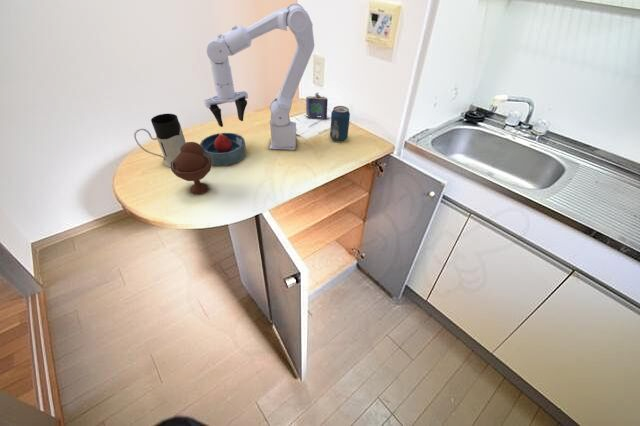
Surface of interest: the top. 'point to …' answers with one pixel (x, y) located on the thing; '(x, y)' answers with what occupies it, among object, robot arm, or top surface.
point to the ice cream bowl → (192, 166)
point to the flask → (316, 107)
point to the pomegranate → (222, 143)
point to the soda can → (339, 123)
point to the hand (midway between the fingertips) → (231, 122)
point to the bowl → (228, 157)
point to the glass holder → (166, 136)
